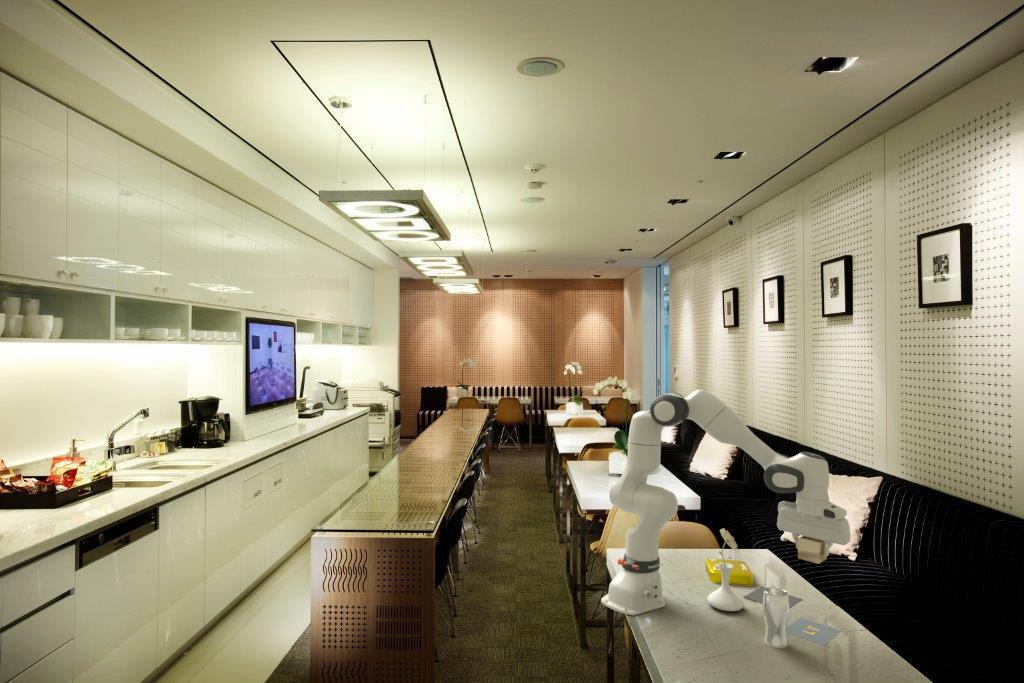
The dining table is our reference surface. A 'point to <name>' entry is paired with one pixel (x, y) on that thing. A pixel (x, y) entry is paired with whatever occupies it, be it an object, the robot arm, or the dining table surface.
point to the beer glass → (775, 616)
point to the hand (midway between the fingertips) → (812, 551)
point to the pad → (758, 597)
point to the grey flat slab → (812, 631)
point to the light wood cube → (811, 549)
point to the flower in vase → (725, 582)
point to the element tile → (737, 575)
